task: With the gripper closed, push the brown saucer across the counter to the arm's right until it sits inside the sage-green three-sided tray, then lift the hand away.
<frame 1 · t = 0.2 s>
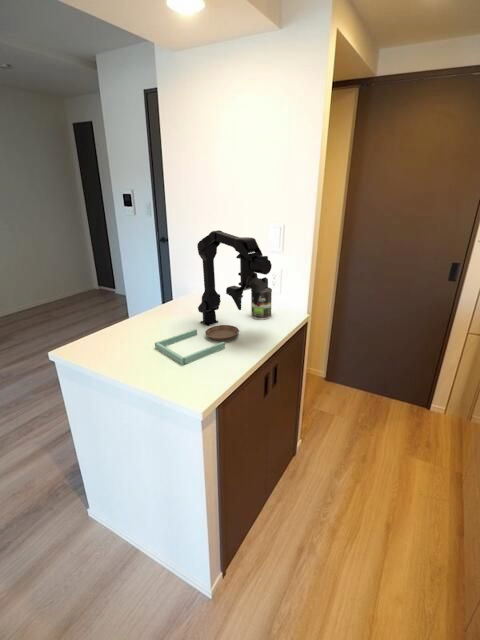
hand: (247, 307, 137), 14 cm above the countertop, tool pointing down, fingers open, 9 cm apart
coffee can: (261, 316, 167), on the countertop
tray: (190, 348, 134), on the countertop
saucer: (222, 337, 145), on the countertop
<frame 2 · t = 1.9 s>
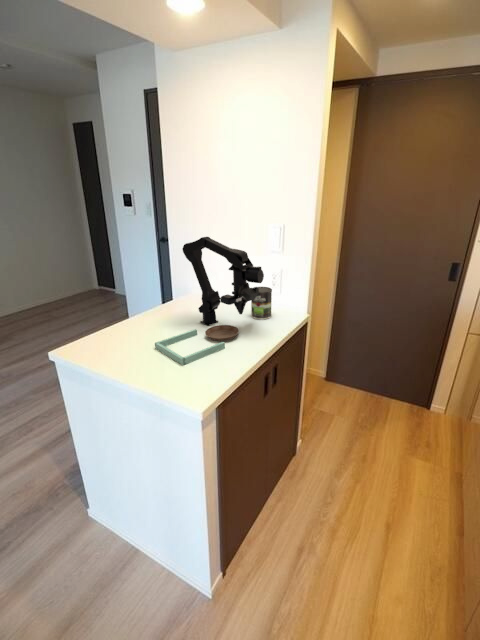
hand: (240, 314, 150), 7 cm above the countertop, tool pointing down, fingers closed
nothing on the countertop moved.
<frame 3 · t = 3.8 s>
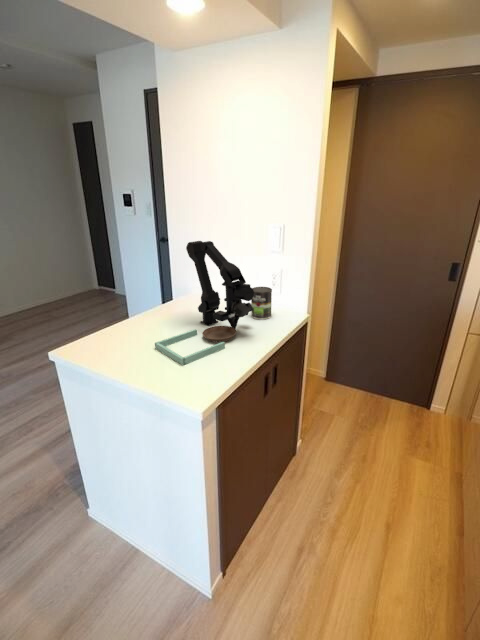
hand: (234, 329, 149), 1 cm above the countertop, tool pointing down, fingers closed
saucer: (219, 337, 144), on the countertop, touching gripper
everything else where it was.
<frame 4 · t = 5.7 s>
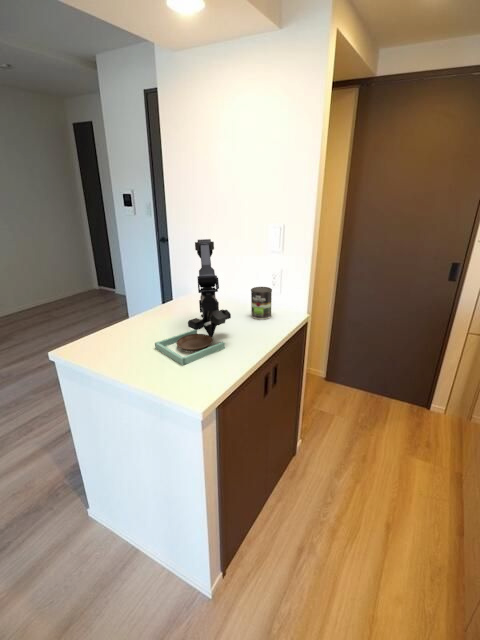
hand: (211, 337, 141), 1 cm above the countertop, tool pointing down, fingers closed
saucer: (195, 347, 136), on the countertop, touching gripper
everything else where it was.
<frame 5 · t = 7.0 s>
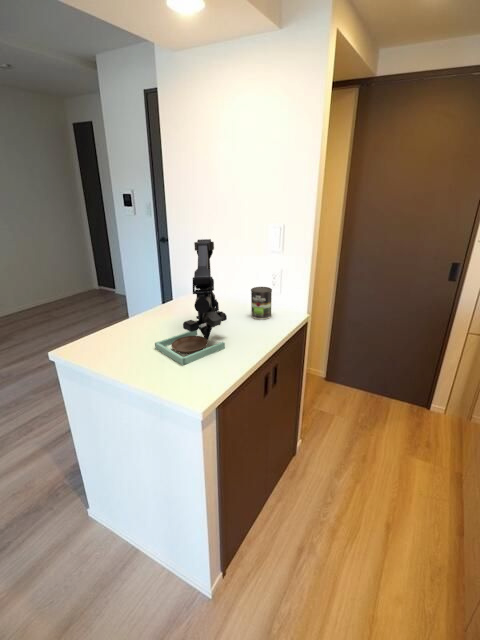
hand: (206, 339, 139), 1 cm above the countertop, tool pointing down, fingers closed
saucer: (190, 349, 135), on the countertop
everything else where it was.
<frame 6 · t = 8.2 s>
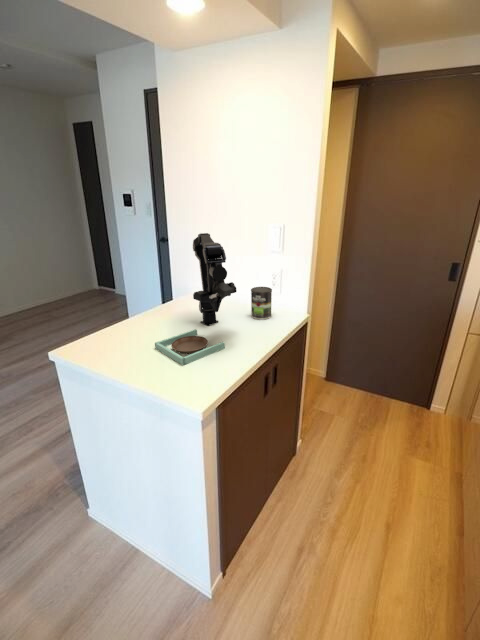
hand: (216, 311, 139), 12 cm above the countertop, tool pointing down, fingers closed
nothing on the countertop moved.
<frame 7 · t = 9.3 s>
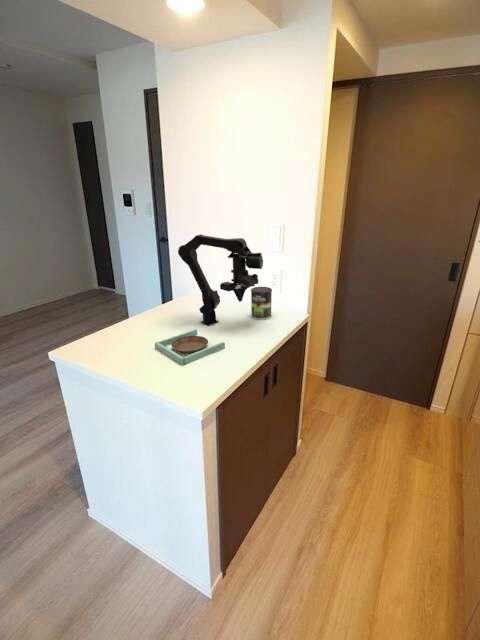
hand: (240, 301, 151), 12 cm above the countertop, tool pointing down, fingers closed
nothing on the countertop moved.
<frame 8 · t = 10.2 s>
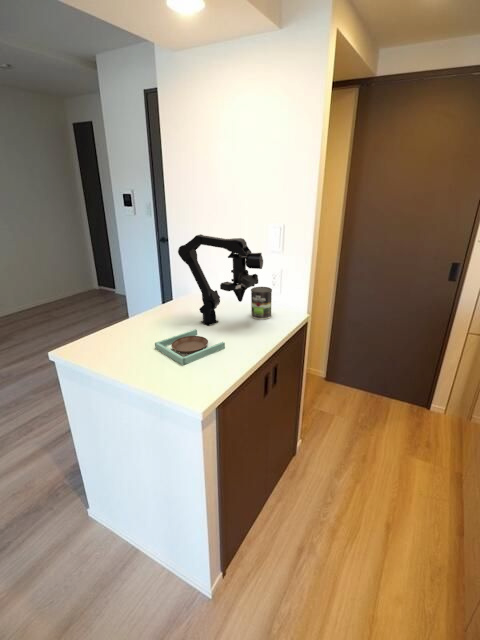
hand: (240, 301, 151), 12 cm above the countertop, tool pointing down, fingers closed
nothing on the countertop moved.
at the end: saucer inside the target area on the tray (0.1 cm from its centre), point -0.5 cm above the tray's base; saucer tilted 0° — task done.
